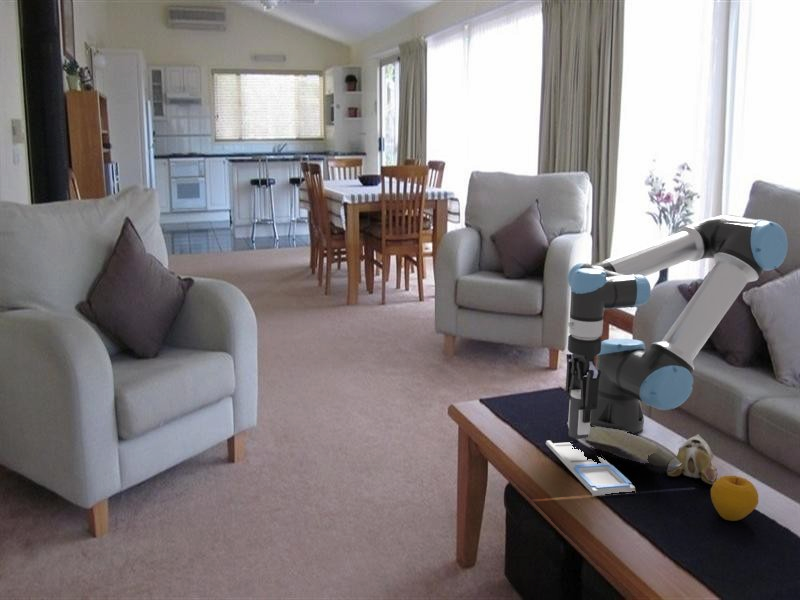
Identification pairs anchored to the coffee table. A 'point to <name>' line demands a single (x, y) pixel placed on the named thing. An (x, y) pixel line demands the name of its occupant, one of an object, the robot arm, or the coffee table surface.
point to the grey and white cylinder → (575, 414)
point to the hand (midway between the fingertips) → (578, 429)
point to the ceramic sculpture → (695, 460)
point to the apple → (734, 497)
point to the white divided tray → (591, 470)
